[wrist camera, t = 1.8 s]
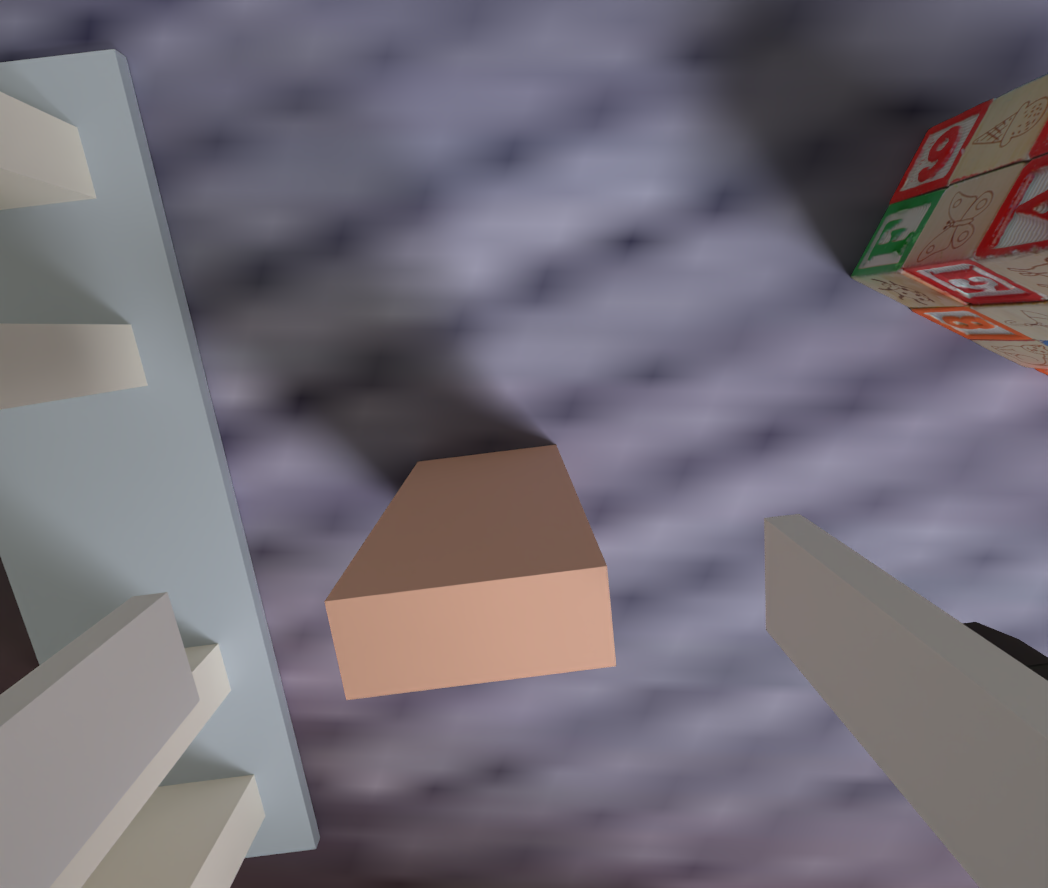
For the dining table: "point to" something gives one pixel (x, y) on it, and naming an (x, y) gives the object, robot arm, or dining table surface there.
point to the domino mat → (133, 446)
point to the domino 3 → (185, 837)
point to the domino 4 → (474, 580)
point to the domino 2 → (154, 765)
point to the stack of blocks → (974, 228)
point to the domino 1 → (66, 361)
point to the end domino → (39, 158)
